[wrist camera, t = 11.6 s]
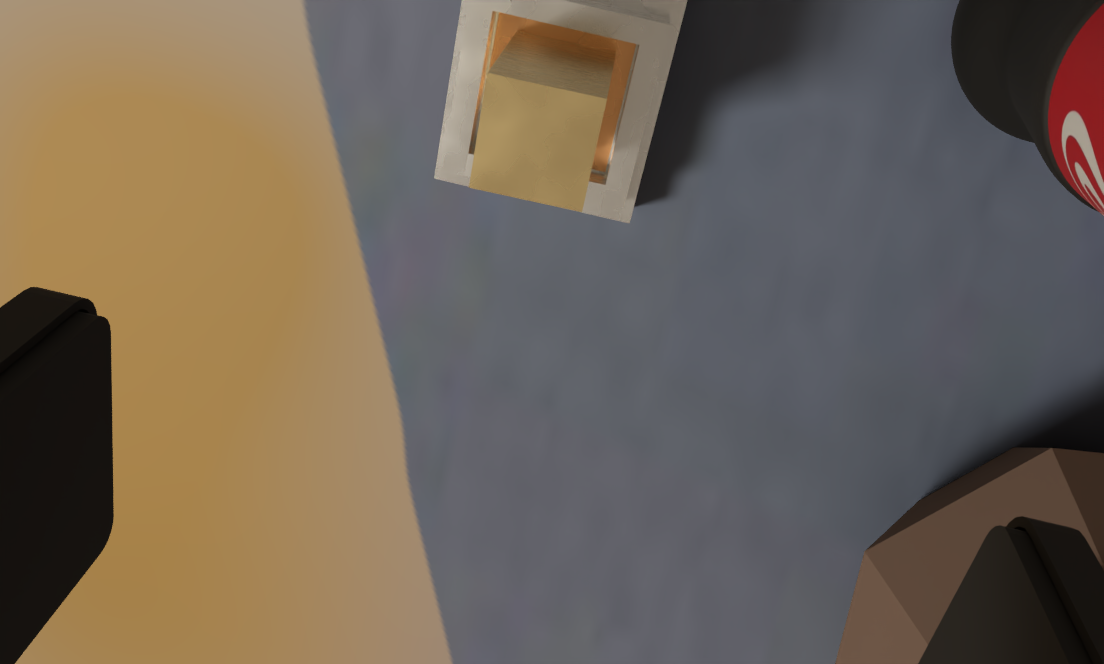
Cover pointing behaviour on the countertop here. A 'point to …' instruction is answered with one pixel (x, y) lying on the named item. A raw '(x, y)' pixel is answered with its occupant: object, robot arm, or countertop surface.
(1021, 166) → the countertop surface
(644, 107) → the white boxy piece
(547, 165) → the square wooden post
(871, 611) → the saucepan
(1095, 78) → the cola bottle
